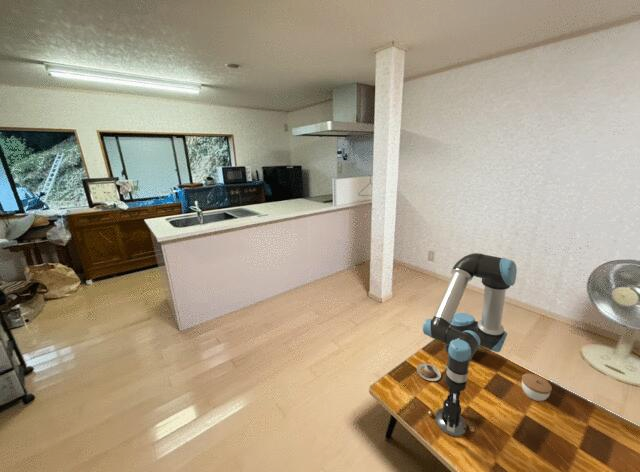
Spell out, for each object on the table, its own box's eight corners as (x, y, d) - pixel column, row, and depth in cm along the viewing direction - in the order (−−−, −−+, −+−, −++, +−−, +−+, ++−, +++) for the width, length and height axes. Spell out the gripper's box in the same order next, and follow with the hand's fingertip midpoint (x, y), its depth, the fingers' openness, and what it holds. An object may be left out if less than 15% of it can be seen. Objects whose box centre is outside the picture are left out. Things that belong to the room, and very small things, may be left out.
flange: (429, 403, 120) (429, 400, 120) (473, 419, 112) (474, 417, 112) (426, 425, 110) (426, 422, 110) (474, 445, 102) (475, 442, 102)
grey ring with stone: (412, 373, 138) (413, 366, 137) (423, 361, 146) (423, 354, 144) (434, 386, 129) (435, 379, 128) (444, 373, 137) (445, 366, 136)
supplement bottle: (443, 427, 108) (446, 405, 105) (439, 412, 115) (442, 390, 112) (461, 429, 107) (464, 407, 104) (456, 414, 114) (459, 393, 110)
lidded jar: (525, 402, 119) (528, 386, 116) (515, 383, 129) (518, 368, 126) (553, 408, 116) (557, 391, 113) (541, 388, 125) (545, 372, 123)
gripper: (447, 353, 117) (443, 390, 122) (444, 397, 96) (439, 439, 101) (466, 358, 113) (461, 396, 119) (467, 405, 92) (460, 448, 98)
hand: (451, 416), depth 110 cm, fingers open, 13 cm apart
